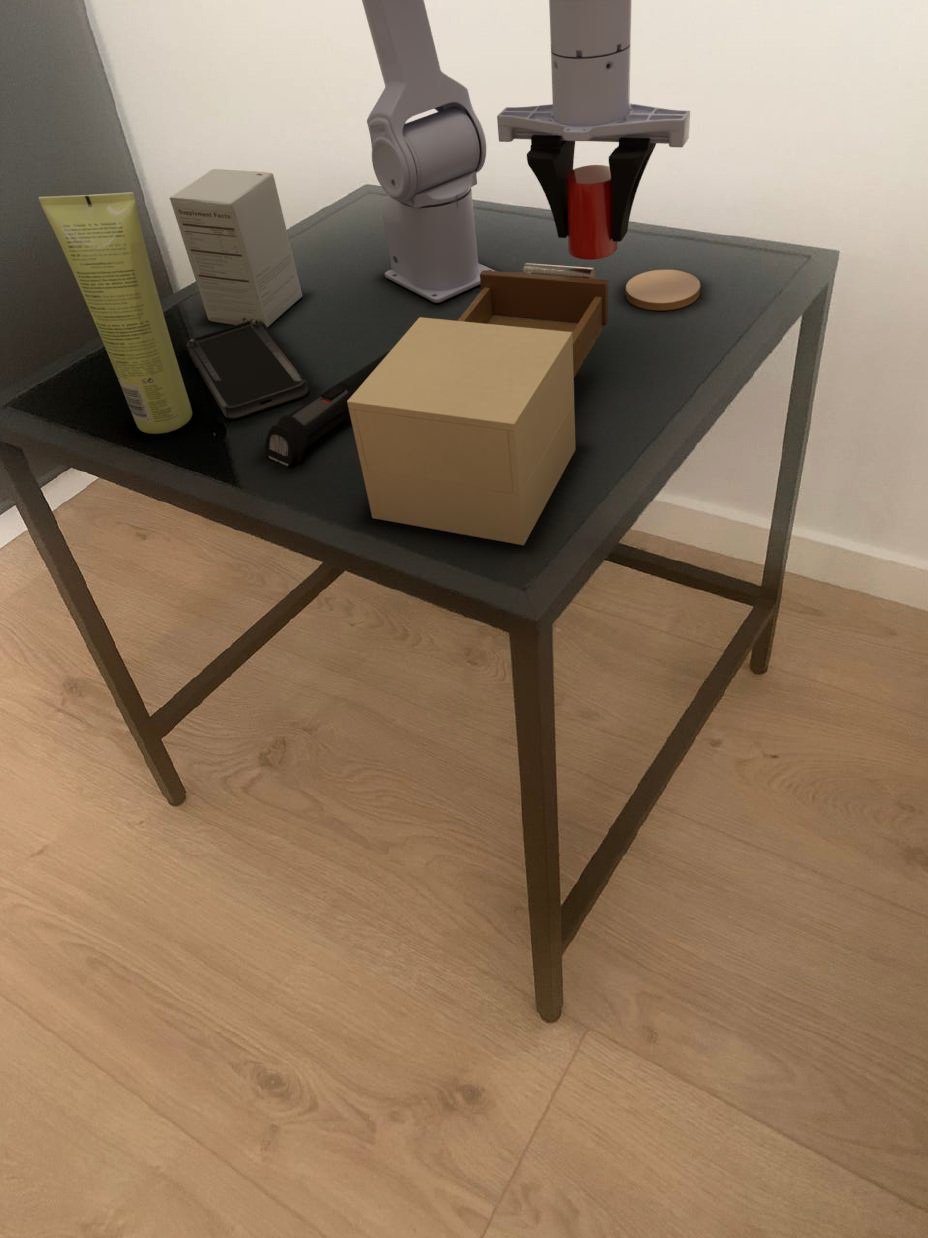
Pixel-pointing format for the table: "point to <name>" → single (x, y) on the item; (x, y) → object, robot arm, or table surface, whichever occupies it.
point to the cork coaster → (662, 290)
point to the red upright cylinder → (590, 212)
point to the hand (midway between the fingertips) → (592, 234)
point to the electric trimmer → (314, 418)
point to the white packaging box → (238, 246)
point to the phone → (246, 369)
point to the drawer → (545, 302)
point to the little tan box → (467, 427)
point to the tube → (123, 302)
